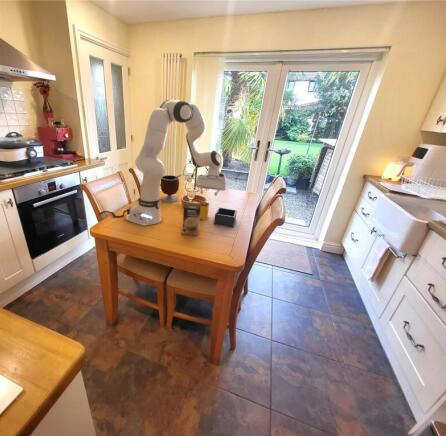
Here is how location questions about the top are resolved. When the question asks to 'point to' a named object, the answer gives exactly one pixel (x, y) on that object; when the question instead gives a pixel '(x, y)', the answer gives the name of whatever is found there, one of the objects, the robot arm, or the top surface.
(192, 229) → the coffee box
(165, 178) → the mate gourd
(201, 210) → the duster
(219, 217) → the case
